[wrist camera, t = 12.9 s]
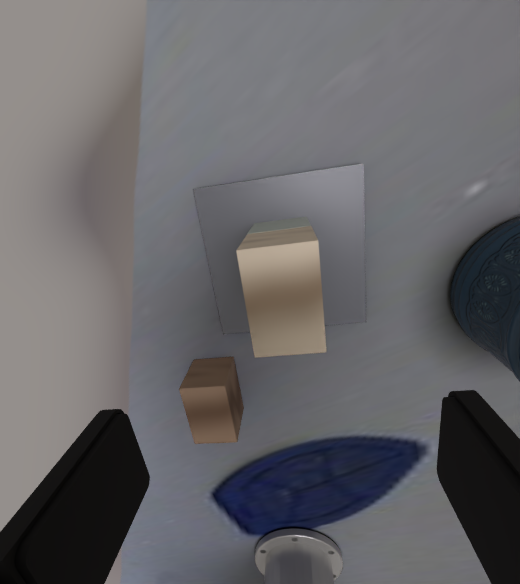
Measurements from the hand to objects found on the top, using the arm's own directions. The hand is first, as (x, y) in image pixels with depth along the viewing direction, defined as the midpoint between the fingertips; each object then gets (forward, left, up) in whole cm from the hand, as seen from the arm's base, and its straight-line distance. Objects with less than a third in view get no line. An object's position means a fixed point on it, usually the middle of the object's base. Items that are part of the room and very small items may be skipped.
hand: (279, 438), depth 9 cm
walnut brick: (-14, +9, -21) cm, 26 cm away
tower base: (0, 0, -21) cm, 21 cm away
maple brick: (0, 0, -14) cm, 14 cm away
